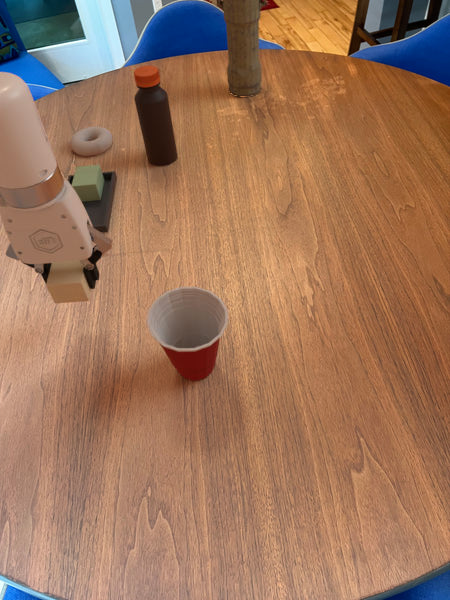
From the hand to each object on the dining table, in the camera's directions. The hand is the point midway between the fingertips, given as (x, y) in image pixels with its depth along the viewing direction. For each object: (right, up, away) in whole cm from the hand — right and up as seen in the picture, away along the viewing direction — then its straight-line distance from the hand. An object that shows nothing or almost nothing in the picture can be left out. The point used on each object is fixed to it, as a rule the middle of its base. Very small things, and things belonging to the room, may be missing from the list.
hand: (74, 282), depth 72 cm
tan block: (0, 0, 0) cm, 0 cm away
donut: (-9, +34, +43) cm, 55 cm away
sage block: (-6, +21, +30) cm, 37 cm away
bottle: (+9, +29, +37) cm, 48 cm away
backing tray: (-6, +17, +27) cm, 33 cm away
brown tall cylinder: (+28, +54, +56) cm, 83 cm away
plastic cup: (+18, -13, 0) cm, 22 cm away
